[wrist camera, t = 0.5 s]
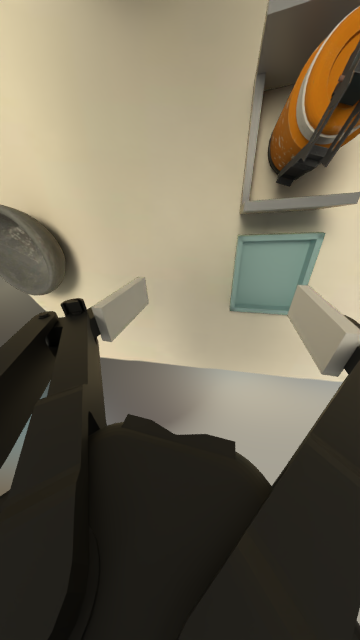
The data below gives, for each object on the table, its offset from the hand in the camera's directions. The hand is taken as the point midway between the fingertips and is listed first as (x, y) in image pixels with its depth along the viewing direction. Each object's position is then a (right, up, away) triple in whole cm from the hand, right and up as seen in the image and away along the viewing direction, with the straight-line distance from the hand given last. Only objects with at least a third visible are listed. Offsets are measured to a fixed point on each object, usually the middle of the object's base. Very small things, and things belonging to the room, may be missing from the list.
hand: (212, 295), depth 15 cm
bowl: (-44, +19, +36) cm, 60 cm away
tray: (+17, +8, +24) cm, 30 cm away
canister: (+16, +27, +13) cm, 34 cm away
